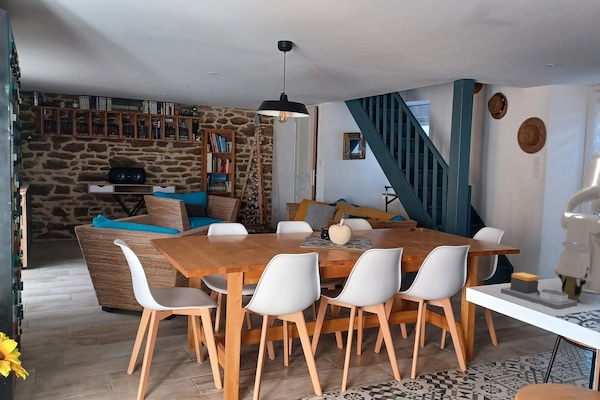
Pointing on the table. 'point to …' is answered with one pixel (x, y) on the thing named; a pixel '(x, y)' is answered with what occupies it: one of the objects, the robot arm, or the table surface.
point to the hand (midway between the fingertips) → (571, 293)
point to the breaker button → (525, 276)
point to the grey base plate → (532, 293)
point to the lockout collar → (552, 295)
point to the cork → (571, 288)
